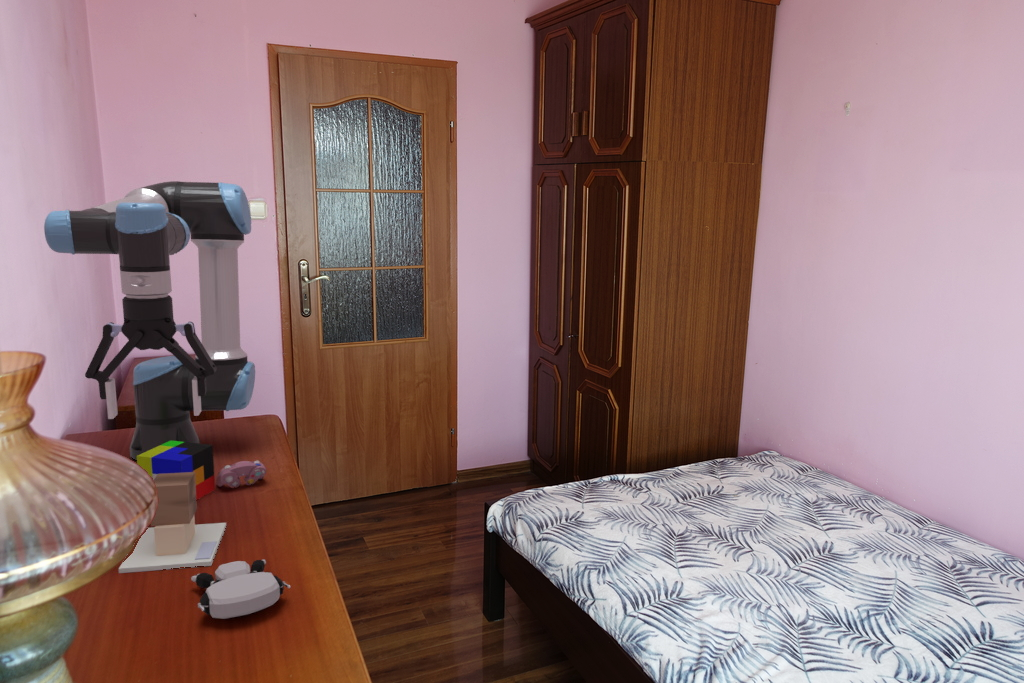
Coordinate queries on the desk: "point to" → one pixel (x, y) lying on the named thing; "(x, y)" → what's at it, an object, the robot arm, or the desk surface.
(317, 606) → the desk surface
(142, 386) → the robot arm
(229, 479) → the video game controller
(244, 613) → the robot toy
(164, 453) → the puzzle toy
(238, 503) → the desk surface
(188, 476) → the walnut block
